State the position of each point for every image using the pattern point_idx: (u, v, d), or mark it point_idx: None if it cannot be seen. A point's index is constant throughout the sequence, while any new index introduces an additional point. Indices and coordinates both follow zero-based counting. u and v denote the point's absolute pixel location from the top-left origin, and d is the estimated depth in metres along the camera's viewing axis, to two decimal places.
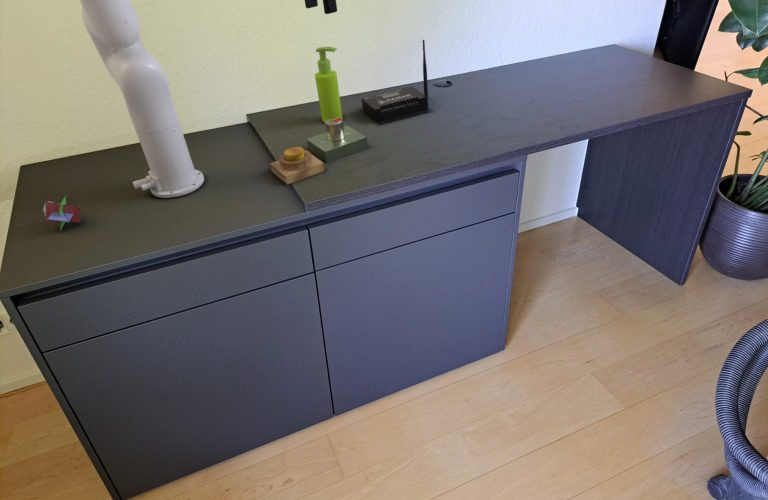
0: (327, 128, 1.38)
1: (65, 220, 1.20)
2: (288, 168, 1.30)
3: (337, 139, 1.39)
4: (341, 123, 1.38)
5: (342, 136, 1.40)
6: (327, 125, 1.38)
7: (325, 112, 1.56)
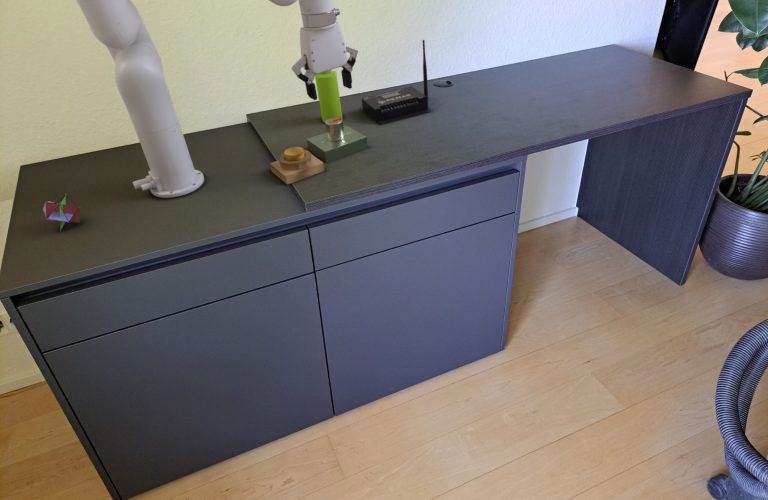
0: (327, 128, 1.38)
1: (65, 220, 1.20)
2: (288, 168, 1.30)
3: (337, 139, 1.39)
4: (341, 123, 1.38)
5: (342, 136, 1.40)
6: (327, 125, 1.38)
7: (325, 112, 1.56)
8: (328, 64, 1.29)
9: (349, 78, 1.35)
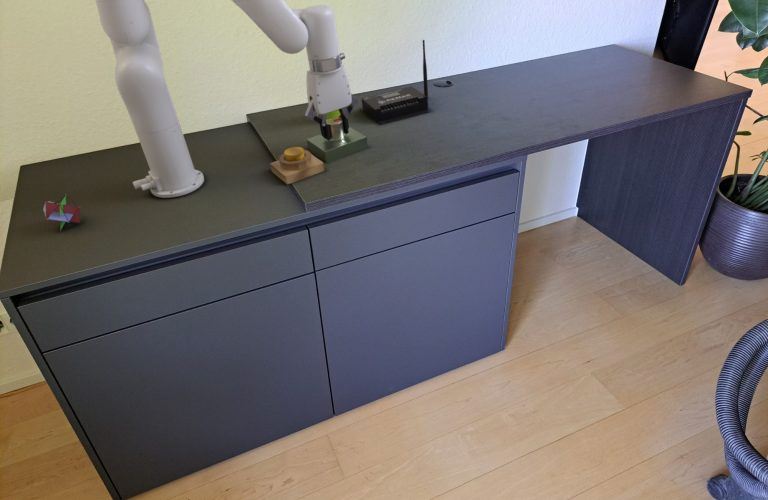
0: None
1: (65, 220, 1.20)
2: (288, 168, 1.30)
3: (337, 139, 1.39)
4: (341, 123, 1.38)
5: (342, 136, 1.40)
6: None
7: None
8: (333, 105, 1.34)
9: (346, 124, 1.39)
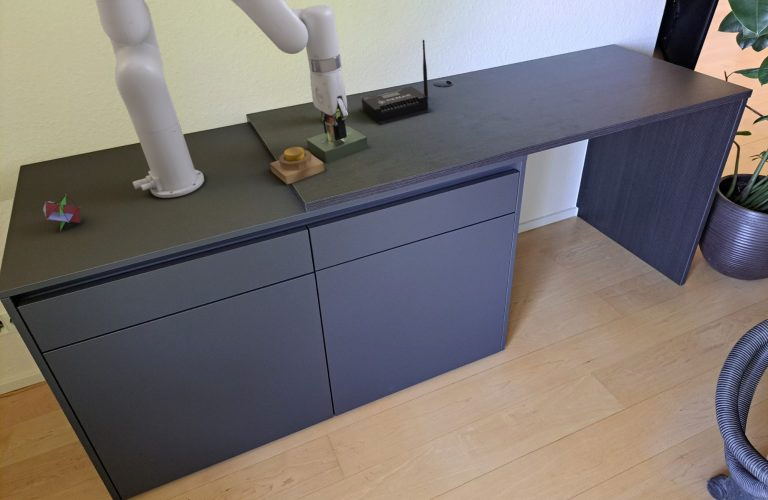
0: None
1: (65, 220, 1.20)
2: (288, 168, 1.30)
3: None
4: None
5: None
6: None
7: None
8: None
9: None
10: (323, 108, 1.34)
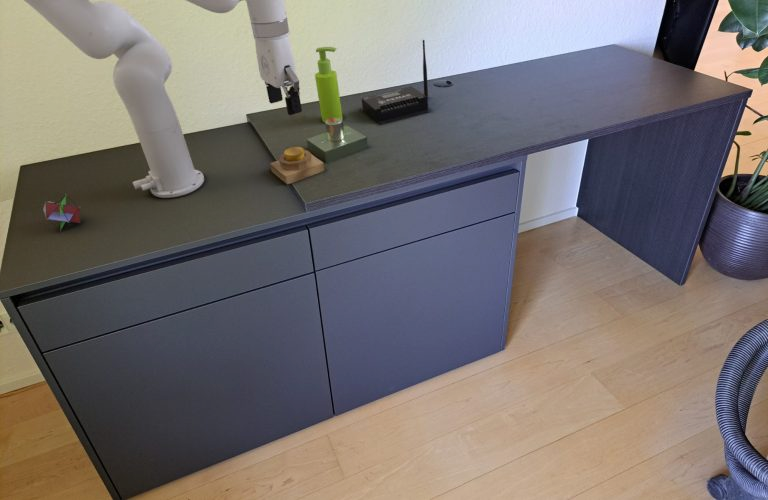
0: (339, 127, 1.38)
1: (65, 220, 1.20)
2: (288, 168, 1.30)
3: None
4: None
5: None
6: (339, 124, 1.38)
7: (325, 112, 1.56)
8: None
9: None
10: (270, 79, 1.19)
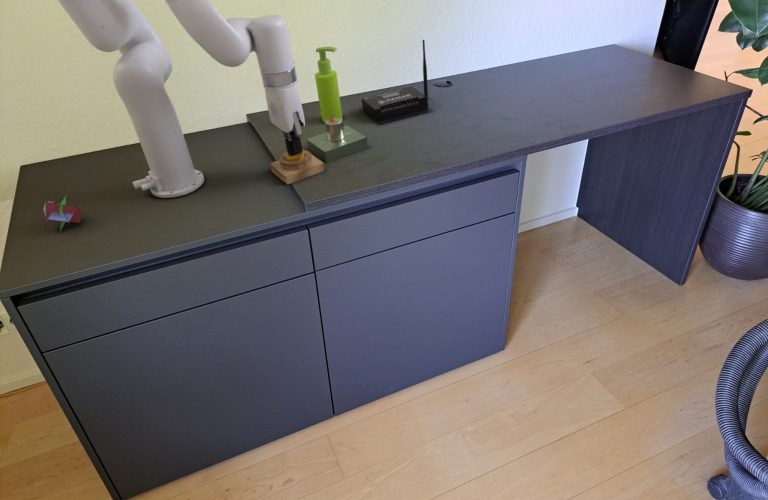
0: (339, 127, 1.38)
1: (65, 220, 1.20)
2: (288, 168, 1.30)
3: None
4: None
5: None
6: (339, 124, 1.38)
7: (325, 112, 1.56)
8: None
9: None
10: (279, 124, 1.25)
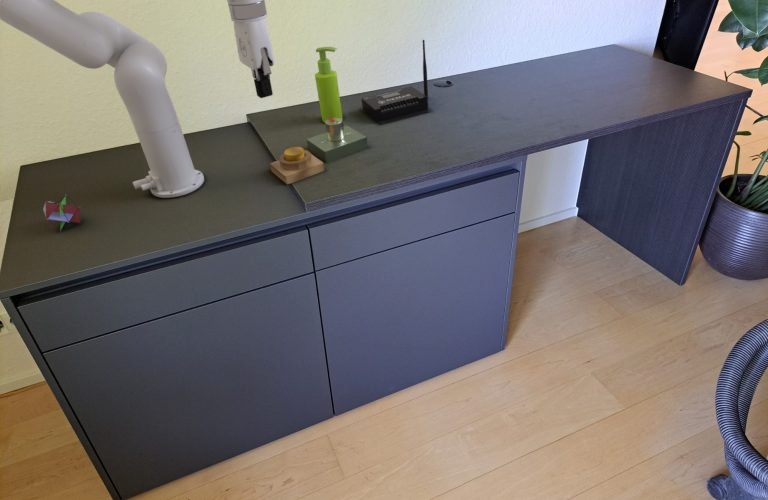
0: (339, 127, 1.38)
1: (65, 220, 1.20)
2: (288, 168, 1.30)
3: None
4: None
5: None
6: (339, 124, 1.38)
7: (325, 112, 1.56)
8: None
9: None
10: (247, 62, 1.20)
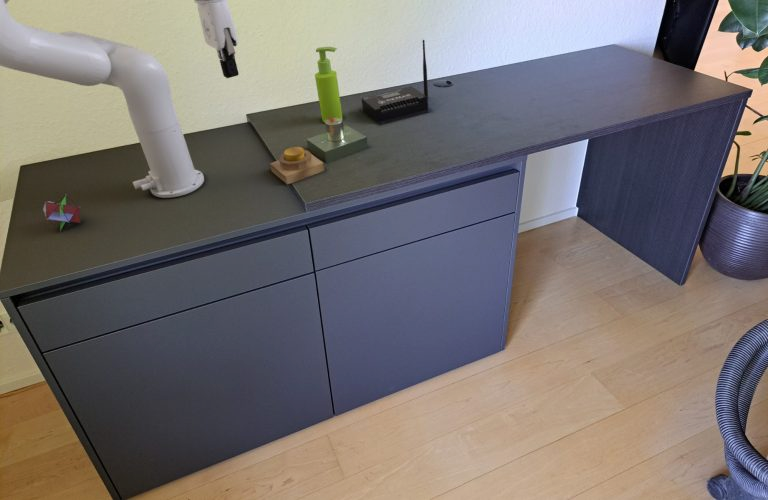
0: (339, 127, 1.38)
1: (65, 220, 1.20)
2: (288, 168, 1.30)
3: None
4: None
5: None
6: (339, 124, 1.38)
7: (325, 112, 1.56)
8: None
9: None
10: (212, 42, 1.24)
